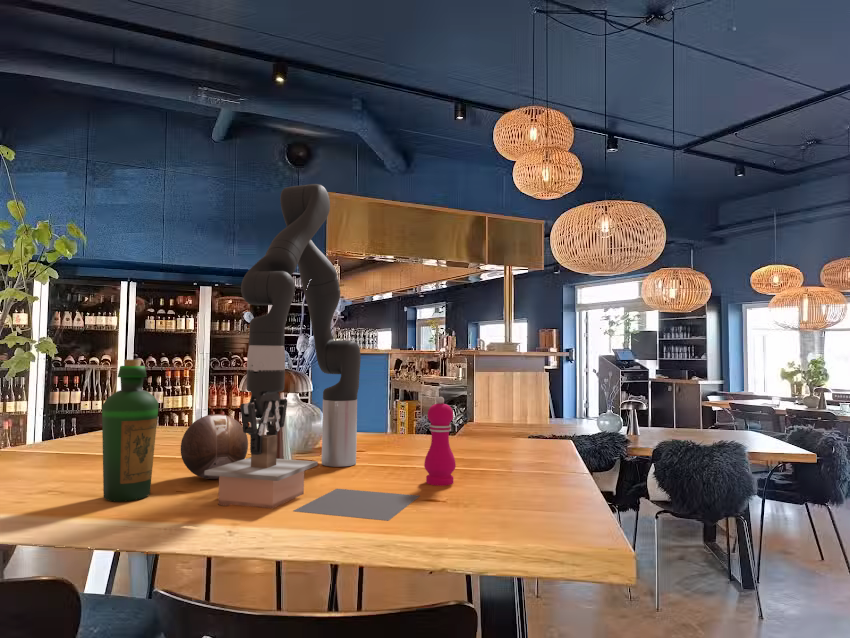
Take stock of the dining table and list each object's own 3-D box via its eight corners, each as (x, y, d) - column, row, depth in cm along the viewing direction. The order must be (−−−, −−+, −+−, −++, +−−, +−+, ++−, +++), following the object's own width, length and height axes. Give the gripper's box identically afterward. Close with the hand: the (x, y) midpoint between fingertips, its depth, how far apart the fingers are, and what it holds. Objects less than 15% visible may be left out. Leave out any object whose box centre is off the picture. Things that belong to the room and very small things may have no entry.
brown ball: (198, 488, 125) (200, 419, 126) (168, 478, 136) (170, 414, 137) (259, 478, 137) (261, 414, 137) (227, 469, 147) (229, 410, 148)
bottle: (146, 503, 113) (152, 360, 115) (88, 504, 111) (94, 359, 113) (162, 490, 124) (167, 359, 125) (109, 491, 122) (114, 359, 124)
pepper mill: (452, 488, 128) (453, 398, 129) (421, 486, 130) (422, 397, 131) (457, 481, 135) (458, 395, 137) (427, 479, 137) (428, 395, 138)
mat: (336, 490, 125) (336, 488, 125) (420, 497, 120) (420, 495, 120) (292, 513, 107) (292, 510, 107) (388, 522, 102) (388, 520, 102)
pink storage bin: (253, 491, 124) (254, 462, 124) (303, 495, 120) (304, 466, 121) (218, 504, 112) (219, 473, 113) (272, 510, 109) (273, 478, 109)
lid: (251, 460, 127) (252, 429, 127) (317, 465, 122) (318, 432, 123) (204, 474, 111) (205, 439, 112) (277, 480, 107) (278, 443, 107)
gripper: (269, 367, 126) (267, 445, 125) (228, 368, 112) (226, 456, 111) (299, 367, 124) (297, 447, 123) (262, 369, 110) (260, 459, 109)
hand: (263, 451), depth 117 cm, fingers open, 5 cm apart
